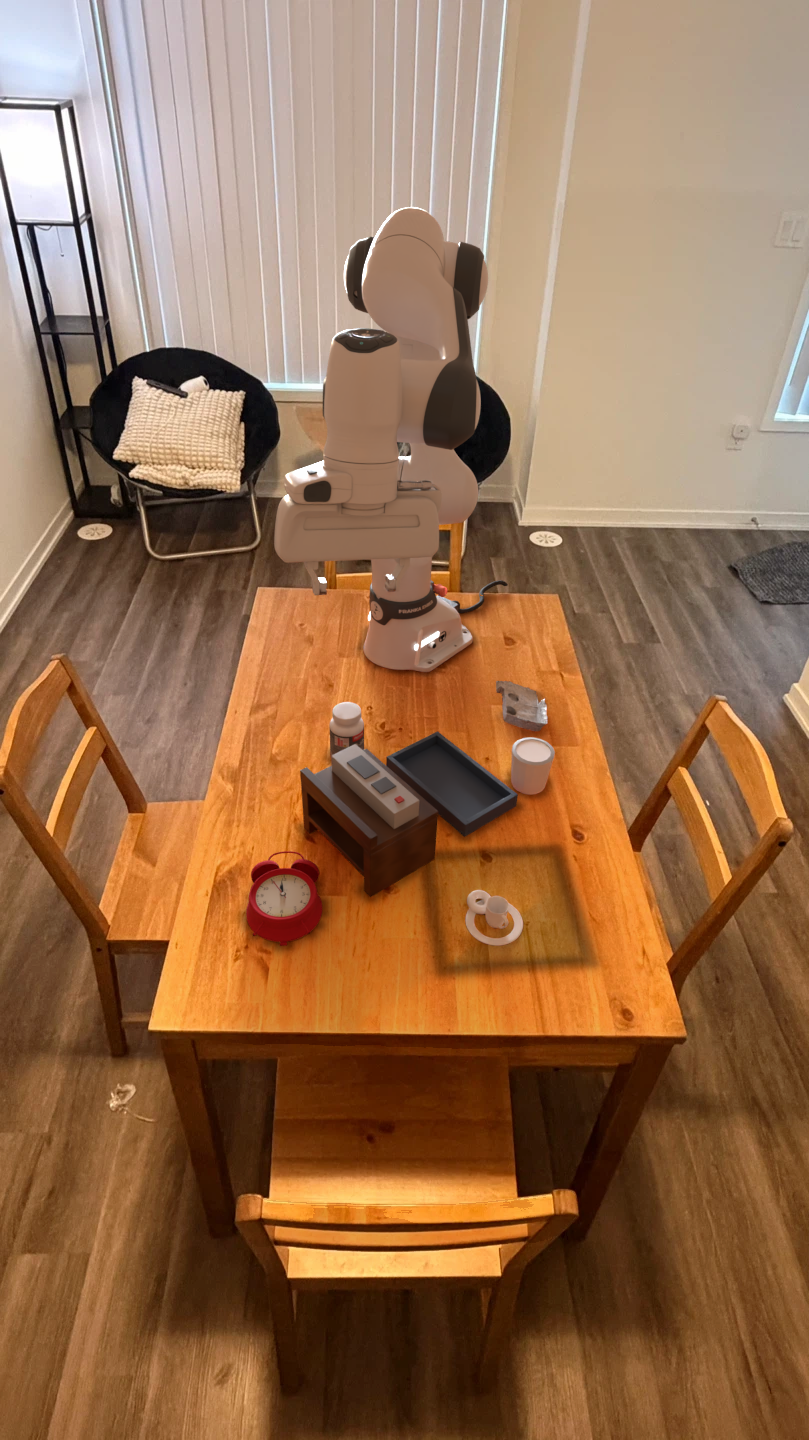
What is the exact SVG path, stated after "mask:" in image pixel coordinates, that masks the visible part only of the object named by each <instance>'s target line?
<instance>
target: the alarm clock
mask: <svg viewBox="0 0 809 1440" xmlns="http://www.w3.org/2000/svg"><path fill="white" fill-rule="evenodd" d="M281 854H295V855H298V856H300V857H301V858H299V859H296V860H294V861H293V862H292V864H291V866H290V867H280V865H279V864H278V863H277V861H274V860H271V859H272V858H273V857H274V856H277V855H281ZM319 877H320V869H319V867H318V865H317V864H316V863H315V862H314V861H311V860H309V859H306V858H305V856H303V855H302V853H300V852H297V851H292V850H284V851H278V852H274V853H273V854H271V855H270V856H268V858H267V859H266V860H263V861H260V862H258V863H256V864H255V865H254V866H253V868H252V870H251V872H250V878H251V881H252V885H251V887H250V890H249V892H248V903H247V905H246V909H245V914H246V915H245V916H246V921H247V925H248V926H249V929H251V930H252V932H253V933H252V937H256V936H258V937H260V938H261V939H264V940H267V941H270V942H275V943H279V947H285V946H286V947H288V942H293V941H297V940H299V939H301V938H304V937H305V936H307V935H310V934H311V932H312V931H313V930H315V928H316V927H317V926H318V924H319V923H320V921H321V919H322V916H323V901H322V899H321V896H320V894H319V893H318V888H317V886H316V884H315V883H317V882H318V881H319Z"/></svg>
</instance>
